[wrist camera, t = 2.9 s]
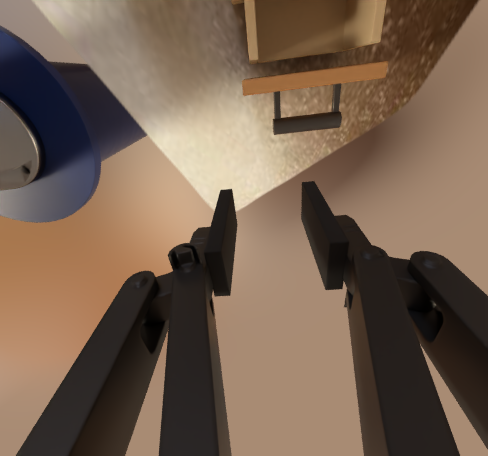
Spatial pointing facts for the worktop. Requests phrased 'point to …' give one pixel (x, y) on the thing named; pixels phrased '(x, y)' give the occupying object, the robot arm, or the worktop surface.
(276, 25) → the drawer
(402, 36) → the worktop surface
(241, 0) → the cabinet
